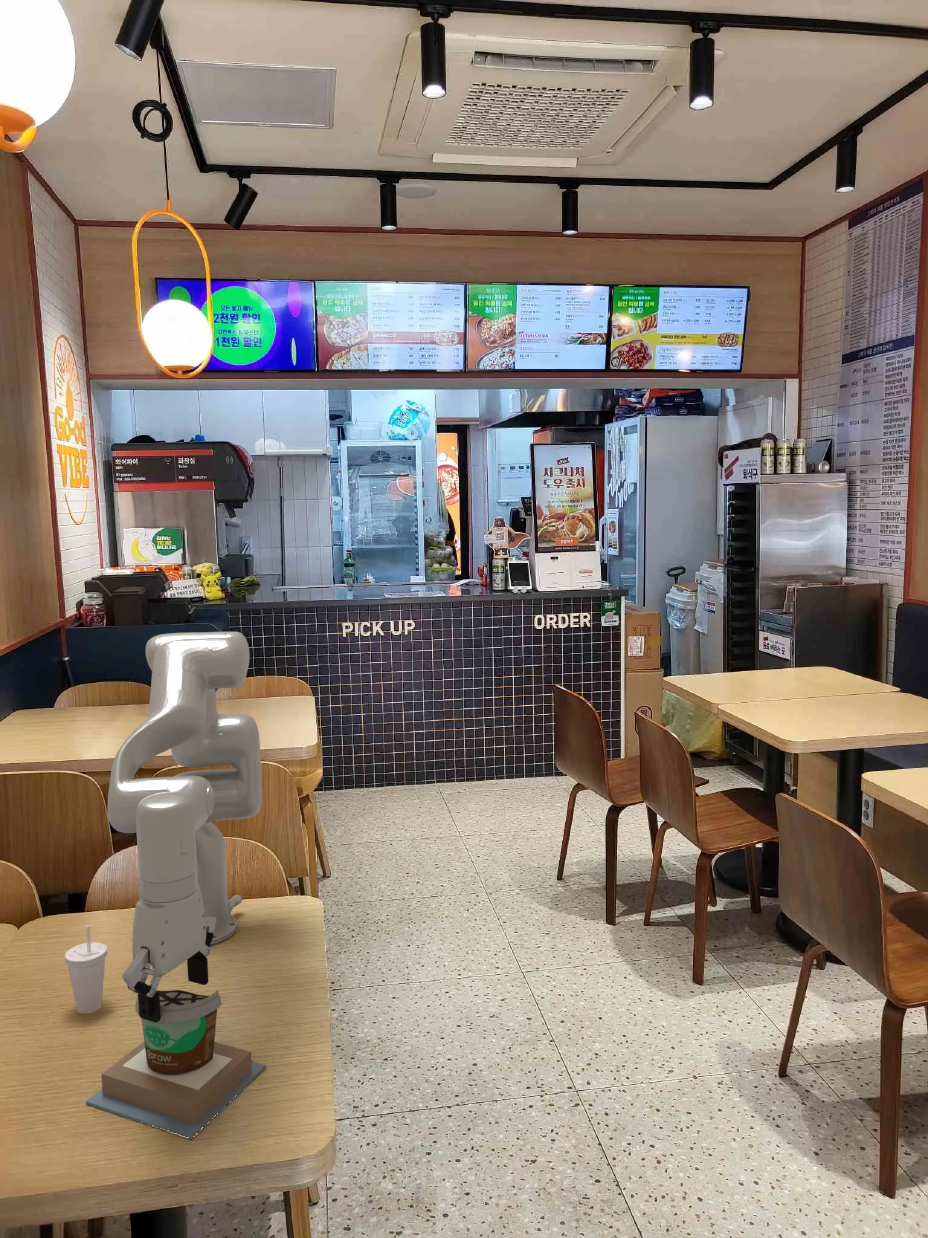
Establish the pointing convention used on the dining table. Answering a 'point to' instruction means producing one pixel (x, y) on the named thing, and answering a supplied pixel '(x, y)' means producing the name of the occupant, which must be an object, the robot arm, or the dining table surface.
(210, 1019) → the food container
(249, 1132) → the dining table surface
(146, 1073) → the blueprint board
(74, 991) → the smoothie
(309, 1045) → the dining table surface
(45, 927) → the dining table surface
